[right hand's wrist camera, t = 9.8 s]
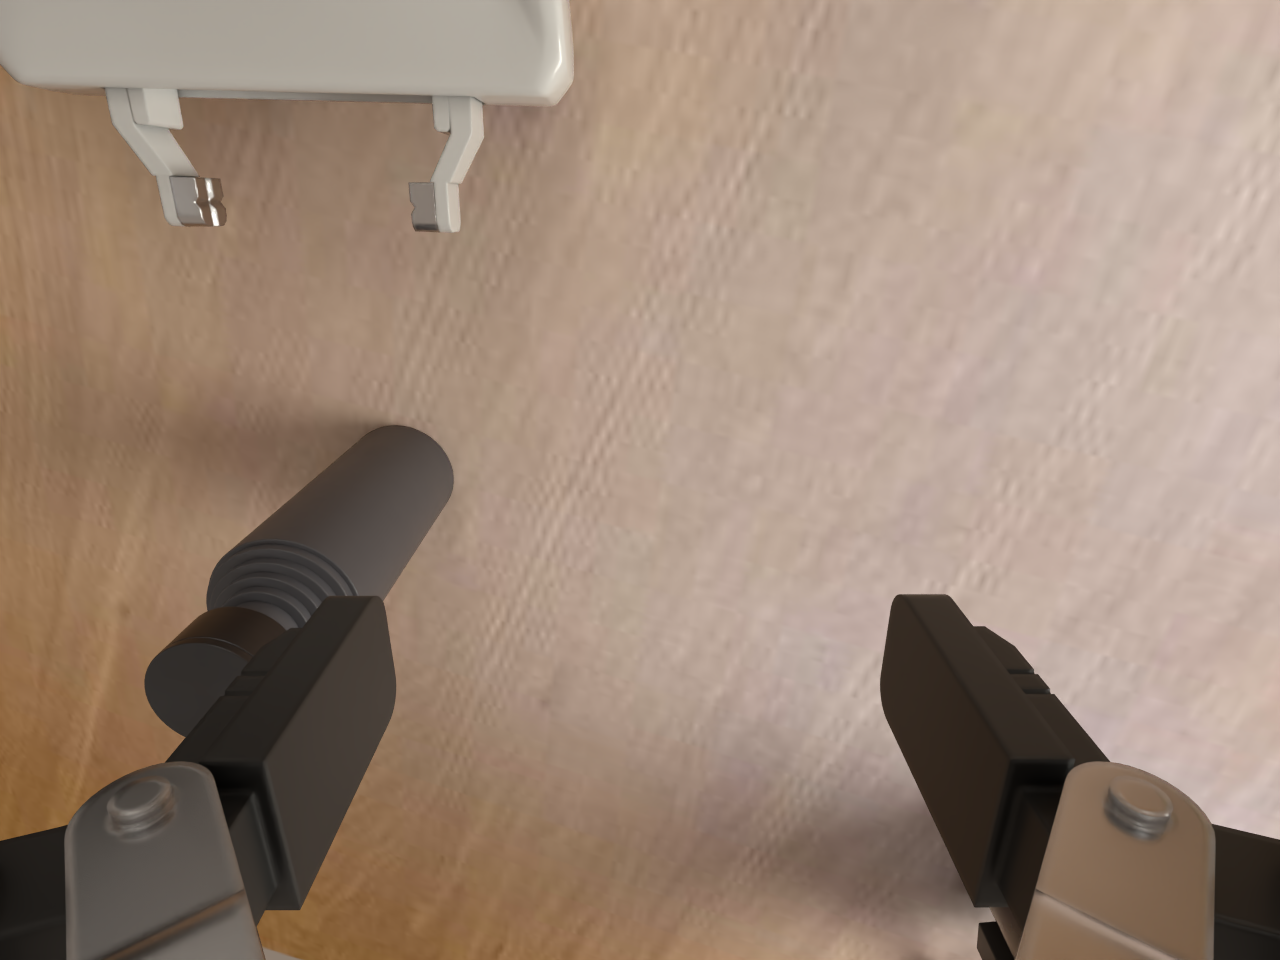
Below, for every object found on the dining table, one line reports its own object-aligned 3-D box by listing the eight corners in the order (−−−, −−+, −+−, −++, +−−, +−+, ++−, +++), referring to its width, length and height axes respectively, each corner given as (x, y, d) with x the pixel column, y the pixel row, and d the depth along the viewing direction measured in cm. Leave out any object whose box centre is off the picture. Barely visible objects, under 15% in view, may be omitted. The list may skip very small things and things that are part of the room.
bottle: (463, 442, 38) (320, 636, 21) (442, 533, 40) (295, 777, 23) (358, 412, 37) (125, 587, 21) (342, 505, 39) (117, 735, 23)
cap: (309, 623, 23) (278, 662, 21) (294, 714, 24) (264, 758, 22) (189, 592, 22) (147, 629, 21) (180, 686, 24) (140, 729, 22)
